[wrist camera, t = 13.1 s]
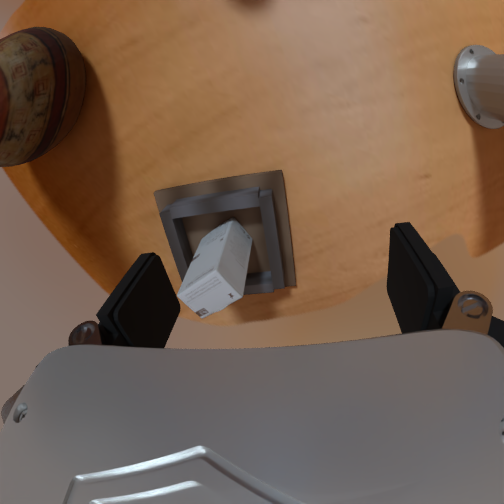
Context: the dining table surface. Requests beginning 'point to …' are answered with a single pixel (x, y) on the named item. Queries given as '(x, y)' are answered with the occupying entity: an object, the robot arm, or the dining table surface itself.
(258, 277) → the socket stand
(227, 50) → the dining table surface
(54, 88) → the painted clay vase
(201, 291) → the skincare box
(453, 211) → the dining table surface
